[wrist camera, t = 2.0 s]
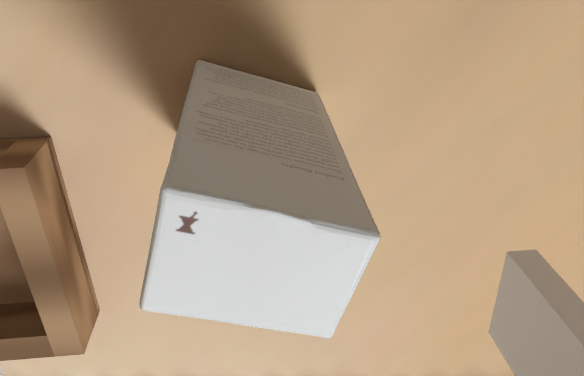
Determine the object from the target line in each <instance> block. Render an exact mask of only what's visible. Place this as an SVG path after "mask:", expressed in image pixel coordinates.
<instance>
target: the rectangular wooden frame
mask: <svg viewBox="0 0 584 376" xmlns="http://www.w3.org/2000/svg"><path fill="white" fill-rule="evenodd" d="M99 311H100V309H99V306H98V302H97V299H96V295H95V292H94V288H93V284H92V281H91V277H90V274H89V270H88V267H87V263H86V260H85V256H84V252H83V249H82V245H81V242H80V238H79V235H78V231H77V227H76V224H75V220H74V217H73V213H72V210H71V206H70V203H69V199H68V195H67V192H66V188H65V185H64V181H63V178H62V174H61V171H60V167H59V163H58V160H57V156H56V153H55V149H54V146H53V142H52V139H51V137H34V138H15V139H0V361H5V360H18V359H30V358H42V357H55V356H67V355H79V354H84V352H85V350H86V347H87V344H88V341H89V339H90V336H91V333H92V330H93V328H94V325H95V322H96V319H97V316H98V314H99Z"/></svg>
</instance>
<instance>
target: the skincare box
mask: <svg viewBox="0 0 584 376" xmlns="http://www.w3.org/2000/svg"><path fill="white" fill-rule="evenodd" d="M380 237H381V236H380V233H379V230H378V228H377V226H376V224H375V222H374V220H373V218H372V216H371V213H370V211H369V209H368V207H367V204H366V202H365V200H364V197H363V195H362V193H361V191H360V188H359V186H358V184H357V182H356V179H355V177H354V175H353V172H352V170H351V168H350V165H349V163H348V161H347V158H346V156H345V154H344V151H343V149H342V147H341V144H340V142H339V140H338V137H337V135H336V133H335V130H334V128H333V126H332V123H331V121H330V119H329V116H328V114H327V112H326V109H325V107H324V105H323V102H322V100H321V98H320V96H319V94H318V93H317V92H314V91H310V90H306V89H303V88H299V87H296V86H292V85H289V84H285V83H282V82H278V81H274V80H271V79H267V78H264V77H260V76H256V75H252V74H249V73H245V72H242V71H238V70H234V69H231V68H227V67H223V66H220V65H216V64H213V63H209V62H206V61H202V60H197V62H196V65H195V68H194V72H193V75H192V79H191V83H190V87H189V91H188V94H187V97H186V101H185V104H184V108H183V111H182V115H181V119H180V123H179V127H178V130H177V134H176V138H175V141H174V145H173V149H172V153H171V157H170V162H169V165H168V168H167V171H166V174H165V177H164V181H163V184H162V186H161V189H160V194H159V200H158V206H157V212H156V217H155V222H154V228H153V233H152V238H151V244H150V249H149V254H148V260H147V265H146V270H145V276H144V281H143V286H142V292H141V297H140V308H141V310H143V311H149V312H156V313H164V314H172V315H179V316H185V317H192V318H199V319H206V320H213V321H219V322H225V323H232V324H238V325H245V326H251V327H258V328H265V329H272V330H279V331H285V332H292V333H298V334H305V335H312V336H318V337H323V338H332V336H333V334H334V331H335V329H336V327H337V325H338V323H339V321H340V319H341V317H342V315H343V313H344V311H345V309H346V307H347V305H348V303H349V301H350V299H351V297H352V295H353V292H354V290H355V288H356V286H357V284H358V282H359V280H360V278H361V276H362V274H363V272H364V270H365V268H366V266H367V264H368V262H369V260H370V258H371V256H372V254H373V252H374V250H375V248H376V246H377V244H378V242H379V240H380Z"/></svg>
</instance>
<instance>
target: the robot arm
mask: <svg viewBox="0 0 584 376" xmlns="http://www.w3.org/2000/svg"><path fill="white" fill-rule="evenodd" d="M489 333H490V335H491V337H492V338H493V340H494V342H495V343H496V345H497V347H498V348H499V350H500V351H501V353H502V355H503V356H504V358H505V360H506V361H507V363H508V365H509V366H510V368H511V370H512V371H513V373H514V374H515V376H584V302H583V301H582V300H581V299H580V298H579V297H578V296H577V295H576V293H575V292H574V291H573V290H572V289H571V288H570V287H569V286H568V285H567V283H566V282H565V281H564V280H563V279H562V278H561V277H560V276H559V275H558V274H557V272H556V271H555V270H554V269H553V268H552V267H551V266H550V265H549V264H548V262H547V261H546V260H545V259H544V258H543V257H542V256H541V255H540V254H539V253H538V251H537V250H524V251H510V252H507V254H506V258H505V262H504V267H503V271H502V275H501V280H500V284H499V288H498V293H497V297H496V302H495V306H494V310H493V315H492V319H491V323H490V328H489ZM0 376H4V373H3V370H2V368H1V366H0Z"/></svg>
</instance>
